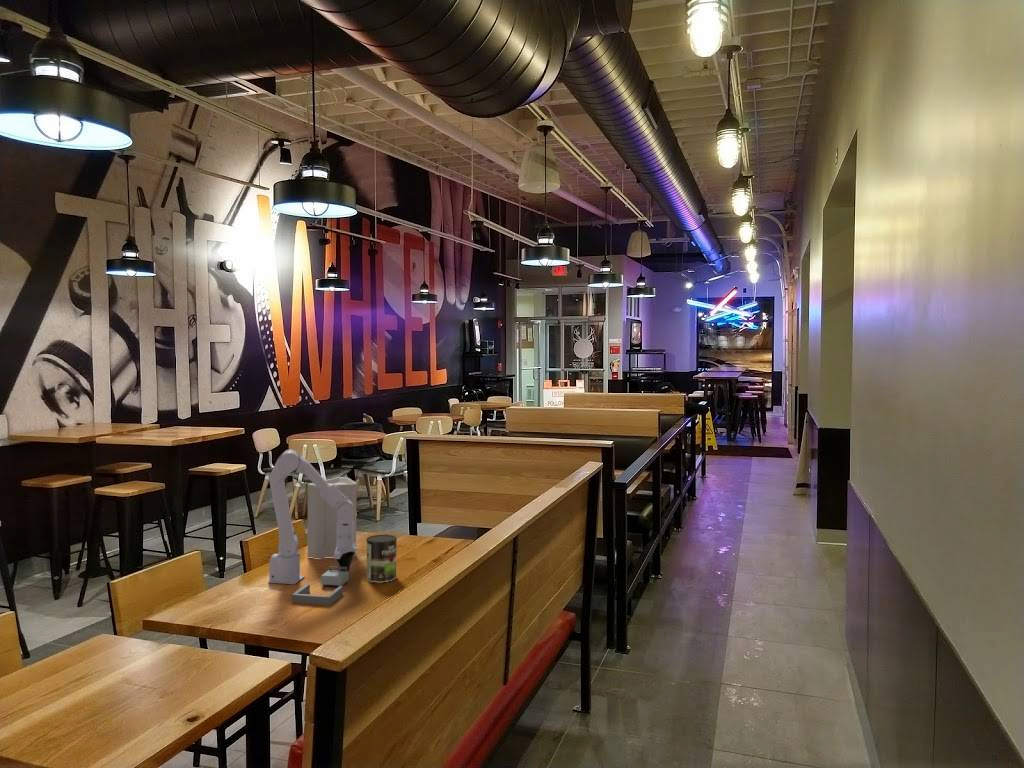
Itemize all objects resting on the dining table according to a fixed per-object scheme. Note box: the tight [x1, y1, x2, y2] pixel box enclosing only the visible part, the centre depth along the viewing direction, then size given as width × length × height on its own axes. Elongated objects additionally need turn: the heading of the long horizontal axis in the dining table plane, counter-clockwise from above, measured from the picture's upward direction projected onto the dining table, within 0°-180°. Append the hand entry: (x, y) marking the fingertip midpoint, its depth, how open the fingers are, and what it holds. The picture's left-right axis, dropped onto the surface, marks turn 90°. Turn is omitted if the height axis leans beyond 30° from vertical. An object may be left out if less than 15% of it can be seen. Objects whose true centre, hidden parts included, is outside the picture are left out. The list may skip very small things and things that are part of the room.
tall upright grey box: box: [307, 476, 358, 558], centre depth 266 cm, size 19×15×28 cm
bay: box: [291, 583, 344, 606], centre depth 217 cm, size 12×10×2 cm
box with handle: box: [320, 565, 349, 587], centre depth 231 cm, size 7×6×5 cm
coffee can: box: [365, 534, 398, 584], centre depth 237 cm, size 10×10×14 cm
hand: (344, 573), depth 239 cm, fingers closed
